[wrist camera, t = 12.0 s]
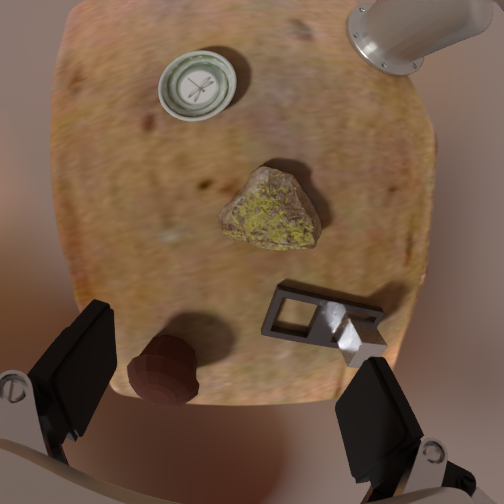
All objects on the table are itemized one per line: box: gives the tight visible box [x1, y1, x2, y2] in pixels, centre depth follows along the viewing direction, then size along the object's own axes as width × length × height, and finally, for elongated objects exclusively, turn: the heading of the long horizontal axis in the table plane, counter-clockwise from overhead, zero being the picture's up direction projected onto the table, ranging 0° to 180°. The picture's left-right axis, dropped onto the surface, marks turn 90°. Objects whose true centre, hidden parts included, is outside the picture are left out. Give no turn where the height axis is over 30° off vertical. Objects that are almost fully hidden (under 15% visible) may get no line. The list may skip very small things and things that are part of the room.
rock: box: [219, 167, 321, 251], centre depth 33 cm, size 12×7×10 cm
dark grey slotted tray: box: [261, 285, 384, 349], centre depth 40 cm, size 8×18×2 cm, turn 74°
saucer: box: [158, 50, 237, 122], centre depth 28 cm, size 10×10×2 cm
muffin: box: [127, 335, 199, 407], centre depth 38 cm, size 12×11×10 cm
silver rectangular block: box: [334, 311, 388, 368], centre depth 37 cm, size 4×4×8 cm
